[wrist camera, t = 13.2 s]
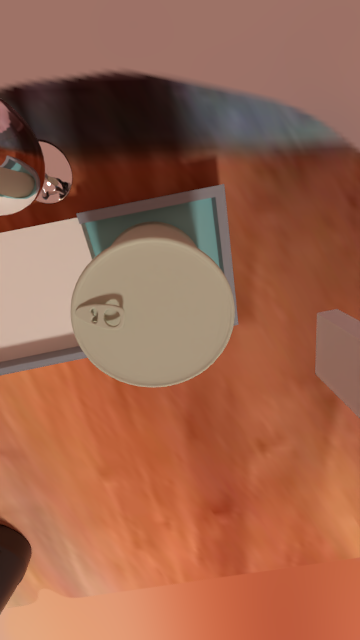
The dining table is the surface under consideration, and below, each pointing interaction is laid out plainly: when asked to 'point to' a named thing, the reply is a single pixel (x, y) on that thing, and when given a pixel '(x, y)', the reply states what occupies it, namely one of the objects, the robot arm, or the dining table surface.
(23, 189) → the wineglass
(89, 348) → the can
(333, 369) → the robot arm
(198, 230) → the two-tone serving tray
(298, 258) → the dining table surface
